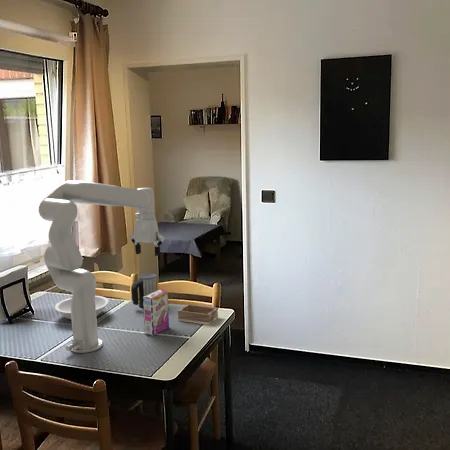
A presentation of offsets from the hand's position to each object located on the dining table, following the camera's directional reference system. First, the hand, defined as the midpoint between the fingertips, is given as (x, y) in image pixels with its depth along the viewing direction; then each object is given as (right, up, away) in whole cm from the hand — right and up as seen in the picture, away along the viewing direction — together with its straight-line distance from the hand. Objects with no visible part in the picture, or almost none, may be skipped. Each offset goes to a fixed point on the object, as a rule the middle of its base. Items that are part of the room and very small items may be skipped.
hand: (147, 254), depth 235 cm
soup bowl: (-31, -30, +9) cm, 44 cm away
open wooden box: (+22, -29, +2) cm, 36 cm away
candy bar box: (+5, -32, -10) cm, 34 cm away
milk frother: (-1, -27, +19) cm, 33 cm away
